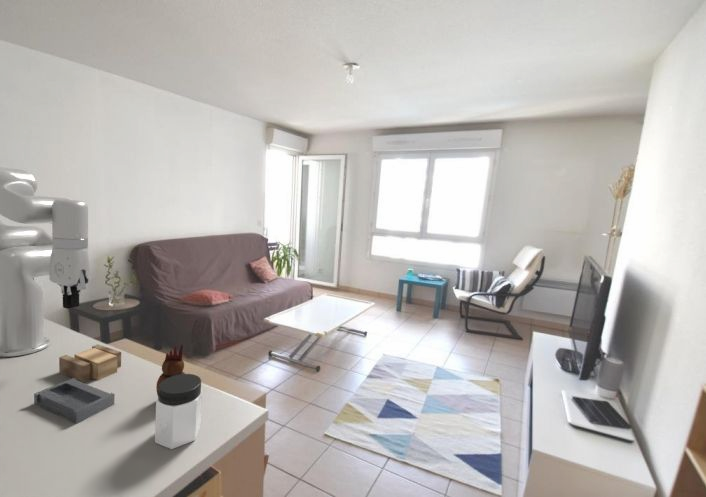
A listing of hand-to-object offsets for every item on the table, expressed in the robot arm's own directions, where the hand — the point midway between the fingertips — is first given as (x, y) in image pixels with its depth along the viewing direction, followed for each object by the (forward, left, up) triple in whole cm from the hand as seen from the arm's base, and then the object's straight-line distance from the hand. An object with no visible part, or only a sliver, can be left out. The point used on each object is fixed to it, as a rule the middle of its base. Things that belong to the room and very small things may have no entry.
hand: (71, 306), depth 92 cm
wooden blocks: (+9, 0, -17) cm, 19 cm away
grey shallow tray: (+22, -12, -17) cm, 30 cm away
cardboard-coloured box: (+11, 0, -17) cm, 20 cm away
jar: (+51, -9, -17) cm, 54 cm away
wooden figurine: (+40, -1, -17) cm, 43 cm away
